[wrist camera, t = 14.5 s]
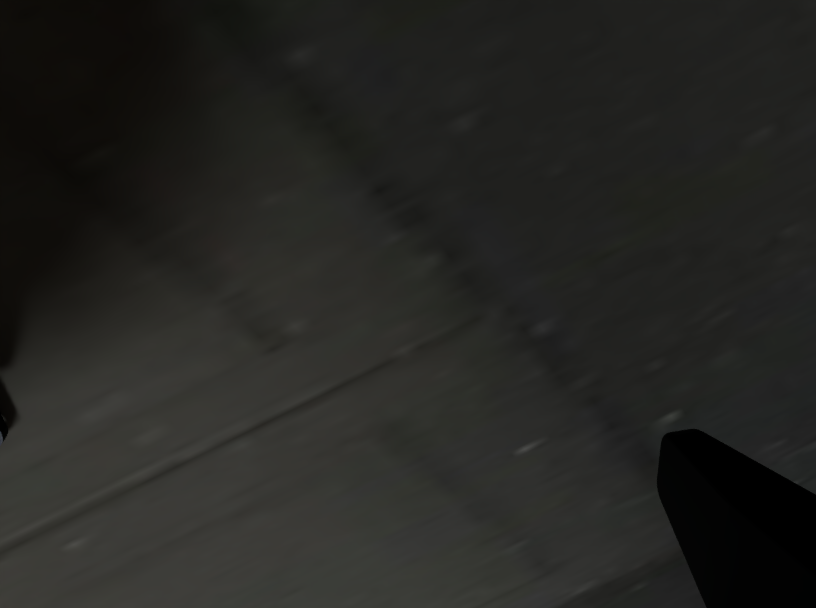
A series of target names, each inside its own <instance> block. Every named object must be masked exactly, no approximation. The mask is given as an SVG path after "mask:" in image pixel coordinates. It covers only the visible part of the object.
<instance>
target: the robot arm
mask: <svg viewBox="0 0 816 608" xmlns="http://www.w3.org/2000/svg"><path fill="white" fill-rule="evenodd" d="M7 434H8V428H7V425H6V423H5V421H4V419H3V417H2V415H1V413H0V445H1V444H2V443H3V441H4V440H5V438H6V436H7ZM657 488H658V493H659V497H660V500H661V502H662V505H663V507H664V509H665V512H666V514H667V516H668V519H669V521H670V523H671V526H672V528H673V531H674V533H675V535H676V538H677V540H678V542H679V545H680V547H681V549H682V552H683V554H684V556H685V559H686V561H687V564H688V566H689V568H690V571H691V573H692V575H693V578H694V580H695V582H696V585H697V587H698V589H699V592H700V594H701V596H702V599H703V601H704V603H705V605H706V607H707V608H816V495H815V494H814V493H812V492H810V491H808V490H806V489H805V488H803V487H801V486H799V485H797V484H796V483H794V482H792V481H790V480H788V479H787V478H785V477H783V476H781V475H780V474H778V473H776V472H774V471H772V470H771V469H769V468H767V467H765V466H763V465H762V464H760V463H758V462H756V461H754V460H753V459H751V458H749V457H747V456H746V455H744V454H742V453H740V452H738V451H737V450H735V449H733V448H731V447H729V446H728V445H726V444H724V443H722V442H720V441H719V440H717V439H715V438H713V437H712V436H710V435H708V434H706V433H704V432H702V431H700V430H697V429H688V430H681V431H675V432H669V433H667V434H665V435H664V436H663V438H662V441H661V447H660V456H659V465H658V475H657Z"/></svg>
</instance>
